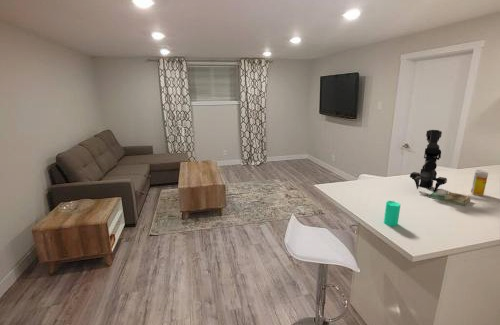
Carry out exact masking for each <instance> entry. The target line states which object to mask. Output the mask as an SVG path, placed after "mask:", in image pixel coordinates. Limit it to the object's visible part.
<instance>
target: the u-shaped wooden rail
mask: <svg viewBox="0 0 500 325" xmlns="http://www.w3.org/2000/svg"><path fill="white" fill-rule="evenodd" d="M447 194H448V195H445V199H446V200H450V201H454V202H458V203H462V204H466V203H467V202H470V200H469V199H471V196H470V195H466V194H463V193H462V194H461V193H458V192H453V191H448V193H447ZM467 204H468V203H467ZM467 204H466V205H467Z"/></svg>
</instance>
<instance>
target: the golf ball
mask: <svg viewBox="0 0 500 325" xmlns="http://www.w3.org/2000/svg"><path fill="white" fill-rule="evenodd" d="M436 192H437V194H438V195H439V196H444V195H445V194H447V192H446V190H445V189H443V188H438V189H437V190H436Z"/></svg>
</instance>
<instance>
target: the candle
mask: <svg viewBox="0 0 500 325" xmlns="http://www.w3.org/2000/svg"><path fill="white" fill-rule="evenodd" d="M384 210H385V211H384V218H383V224H385V225H386V226H389V227H398V225H399V218H400V213H401V212H400V211H401V203H399V202H396V201H394V200H388V201H386V203H385V209H384Z"/></svg>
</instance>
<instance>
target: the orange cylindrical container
mask: <svg viewBox="0 0 500 325" xmlns="http://www.w3.org/2000/svg"><path fill="white" fill-rule="evenodd" d="M488 172H489V171H486V170H482V169H476V171H474V176H473V180H472V183H471V184H472V185H471V189H470V193H471V194H472V195H473V196H478V197H482V196H484V194H485V190H486V185H487V180H488V176H489V173H488Z"/></svg>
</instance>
